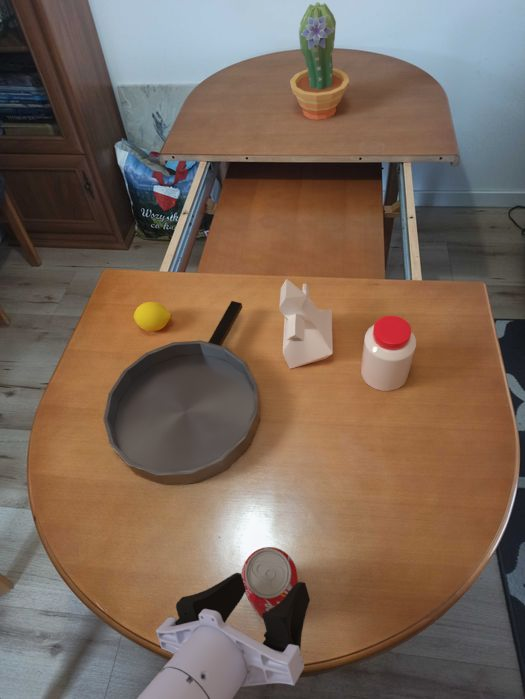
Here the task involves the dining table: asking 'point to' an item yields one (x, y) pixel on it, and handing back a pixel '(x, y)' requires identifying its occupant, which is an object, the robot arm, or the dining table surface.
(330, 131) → the dining table surface
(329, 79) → the potted cactus
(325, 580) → the dining table surface
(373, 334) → the pill bottle
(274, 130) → the dining table surface
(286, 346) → the white angular piece
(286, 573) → the beverage can
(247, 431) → the pan
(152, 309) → the lemon
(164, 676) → the robot arm
